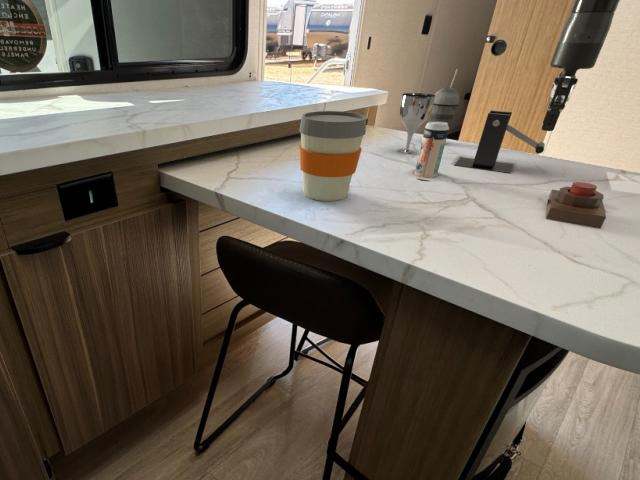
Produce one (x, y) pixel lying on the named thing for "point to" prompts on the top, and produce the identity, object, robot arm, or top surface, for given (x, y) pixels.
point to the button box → (576, 208)
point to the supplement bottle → (431, 149)
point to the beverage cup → (445, 104)
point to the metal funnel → (415, 112)
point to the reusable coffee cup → (330, 152)
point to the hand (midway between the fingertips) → (547, 127)
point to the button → (583, 189)
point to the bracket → (490, 145)
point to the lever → (526, 139)
